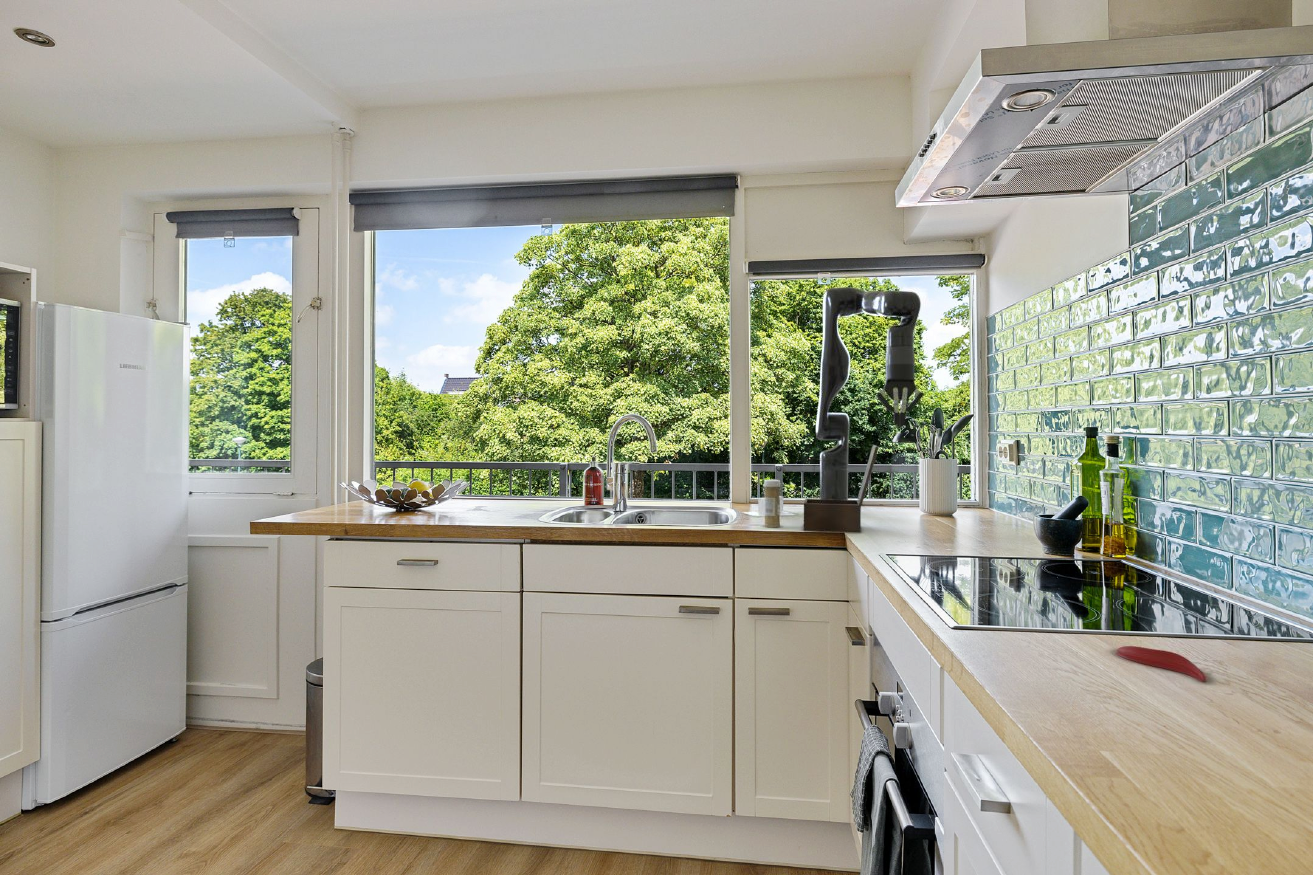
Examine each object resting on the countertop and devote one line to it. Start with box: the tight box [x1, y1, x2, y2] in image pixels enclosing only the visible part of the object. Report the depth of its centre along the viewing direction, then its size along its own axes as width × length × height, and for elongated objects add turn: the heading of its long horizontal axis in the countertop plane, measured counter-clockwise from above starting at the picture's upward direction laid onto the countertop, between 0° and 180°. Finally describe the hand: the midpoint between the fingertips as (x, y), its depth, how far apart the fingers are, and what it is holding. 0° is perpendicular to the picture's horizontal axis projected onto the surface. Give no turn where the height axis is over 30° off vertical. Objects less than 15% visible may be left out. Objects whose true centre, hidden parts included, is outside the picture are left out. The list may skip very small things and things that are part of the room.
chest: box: [803, 498, 862, 534], centre depth 209 cm, size 15×13×8 cm
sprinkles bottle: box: [763, 479, 781, 528], centre depth 213 cm, size 5×5×13 cm
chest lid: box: [857, 444, 879, 505], centre depth 207 cm, size 16×13×1 cm
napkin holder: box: [741, 495, 796, 517], centre depth 243 cm, size 15×11×6 cm
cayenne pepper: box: [1116, 645, 1207, 683], centre depth 91 cm, size 12×5×2 cm, turn 8°
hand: (899, 426), depth 205 cm, fingers closed
